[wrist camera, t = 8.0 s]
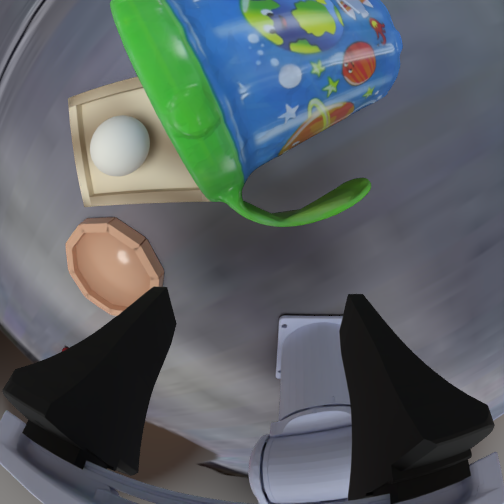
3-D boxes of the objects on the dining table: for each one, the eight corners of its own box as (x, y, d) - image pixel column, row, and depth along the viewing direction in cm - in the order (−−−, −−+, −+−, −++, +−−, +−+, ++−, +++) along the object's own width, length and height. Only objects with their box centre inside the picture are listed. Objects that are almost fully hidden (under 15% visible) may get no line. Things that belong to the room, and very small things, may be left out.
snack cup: (266, -22, 12) (128, 25, 12) (317, -112, 2) (73, -64, 2) (359, 160, 18) (227, 223, 18) (481, 183, 8) (258, 313, 8)
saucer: (174, 314, 25) (170, 323, 24) (90, 303, 26) (85, 310, 25) (153, 216, 20) (146, 222, 19) (60, 219, 21) (53, 225, 20)
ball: (148, 176, 18) (119, 194, 15) (105, 155, 17) (72, 170, 14) (168, 124, 16) (139, 131, 13) (122, 105, 16) (87, 110, 12)
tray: (218, 195, 19) (214, 201, 18) (92, 201, 20) (84, 207, 19) (211, 67, 14) (206, 64, 13) (77, 97, 16) (68, 98, 14)
